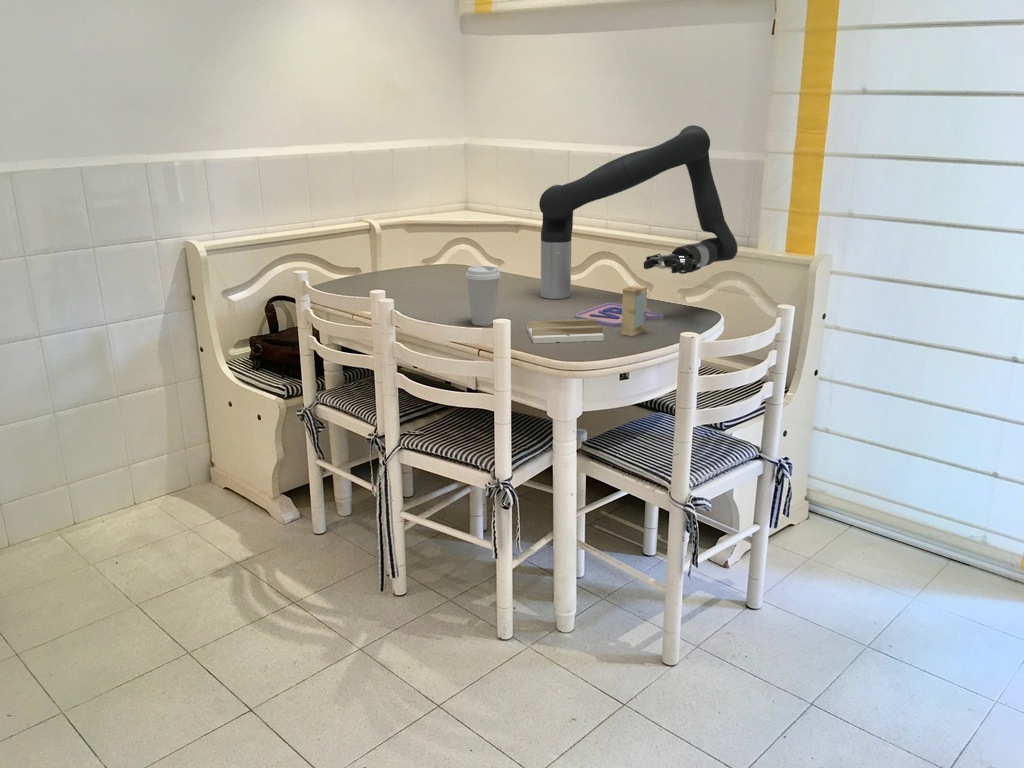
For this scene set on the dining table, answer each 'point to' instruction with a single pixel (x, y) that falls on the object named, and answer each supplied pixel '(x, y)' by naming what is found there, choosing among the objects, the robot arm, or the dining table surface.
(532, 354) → the dining table surface
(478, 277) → the coffee cup
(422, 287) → the dining table surface
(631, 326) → the wooden block
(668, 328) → the dining table surface
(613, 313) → the icon
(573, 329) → the ledge
